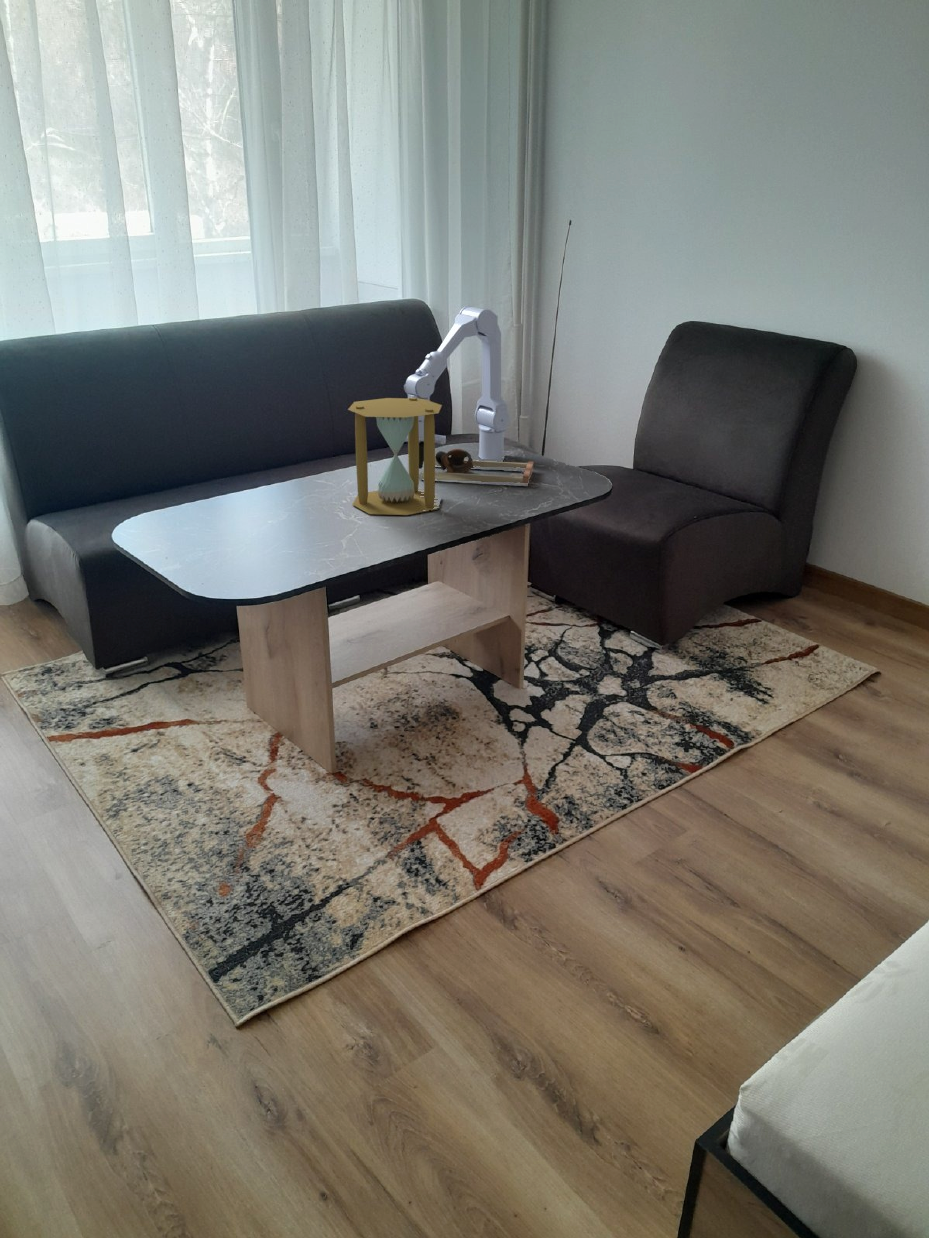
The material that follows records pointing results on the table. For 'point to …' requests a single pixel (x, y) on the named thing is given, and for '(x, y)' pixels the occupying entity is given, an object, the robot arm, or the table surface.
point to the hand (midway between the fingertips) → (419, 467)
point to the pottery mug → (454, 461)
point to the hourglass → (396, 483)
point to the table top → (487, 477)
